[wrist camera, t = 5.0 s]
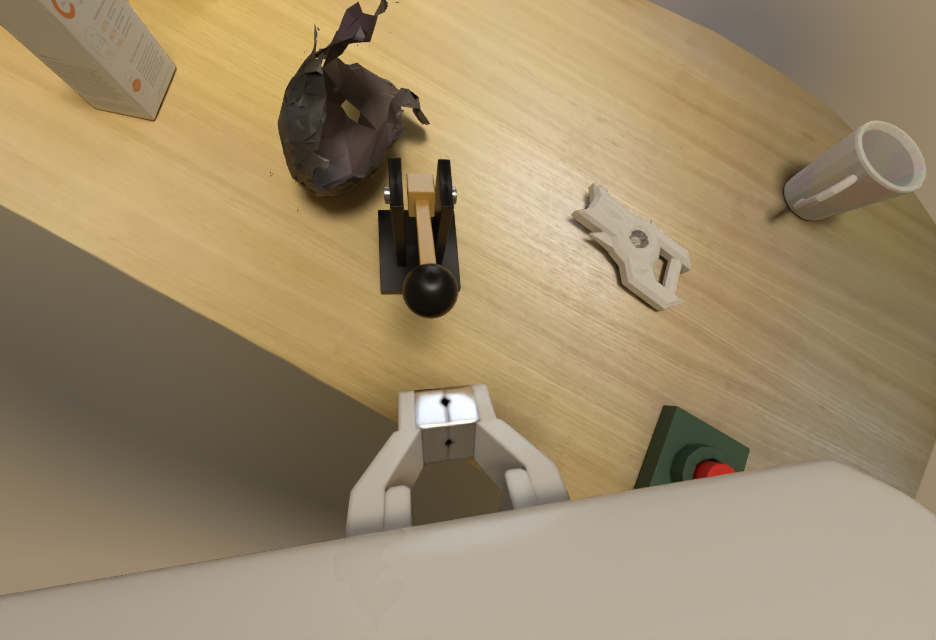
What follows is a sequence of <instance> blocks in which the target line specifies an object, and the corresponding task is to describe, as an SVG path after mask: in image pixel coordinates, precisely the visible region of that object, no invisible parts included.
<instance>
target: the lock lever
mask: <svg viewBox="0 0 936 640" xmlns="http://www.w3.org/2000/svg"><path fill="white" fill-rule="evenodd" d="M407 196H408V213H409V217H416V227H417V239H418V251H419V264H420V265H419V266H417V267H415V268H414V269H413V270H411V271H410V272H409V273H408V275H407V276H406V278H405V280H404V283H403V298H404V301H405V303H406V305H407V306H408V308H409V309H410V310H411V311H412V312H413V313H414V314H416V315H418V316H420V317H423V318H428V319H433V318H438V317H441V316H443V315H445V314H447V313H448V312H449V311H450V310H451V309H452V308H453V306H454V305H455V303H456V300H457V296H458V286H457V282H456V280H455V278H454V276H453V275H452V273H451V272H450V271H449V270H448V269H446V268H445V267H443V266H441V265H438V264H436V257H435V249H434V241H433V233H432V225H431V217H434V216H435V187H434V180H433V175H432V174H416V173H407Z"/></svg>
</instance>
